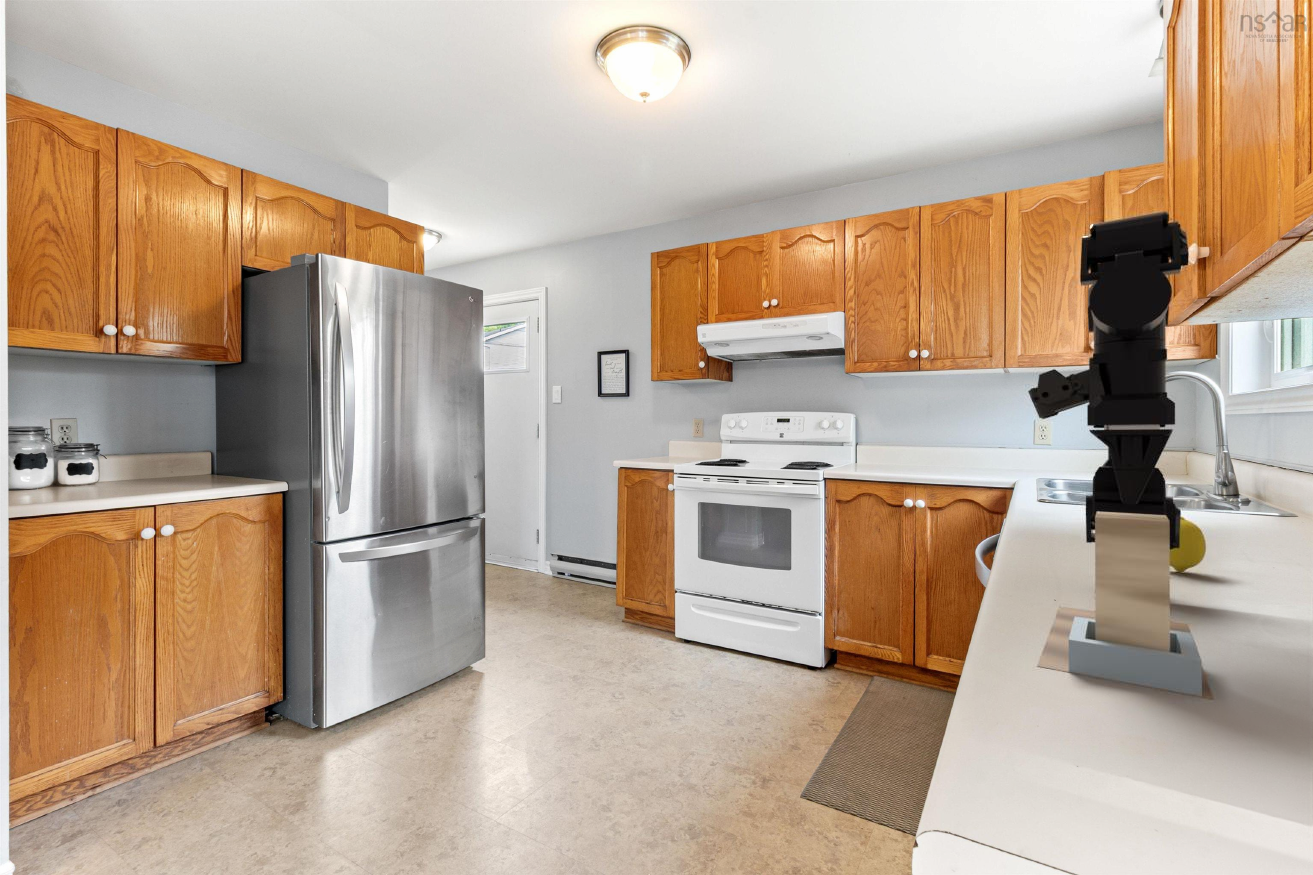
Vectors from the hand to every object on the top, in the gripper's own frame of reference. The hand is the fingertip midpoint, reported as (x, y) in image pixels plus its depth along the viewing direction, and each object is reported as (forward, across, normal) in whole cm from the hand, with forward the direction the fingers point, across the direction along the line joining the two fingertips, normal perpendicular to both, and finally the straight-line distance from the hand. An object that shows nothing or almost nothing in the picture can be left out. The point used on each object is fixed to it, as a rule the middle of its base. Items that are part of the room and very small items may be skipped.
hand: (1129, 500), depth 62 cm
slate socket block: (+12, +16, 0) cm, 20 cm away
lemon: (+13, -38, +6) cm, 41 cm away
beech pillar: (+12, +16, 0) cm, 20 cm away
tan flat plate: (+13, +9, -1) cm, 16 cm away
